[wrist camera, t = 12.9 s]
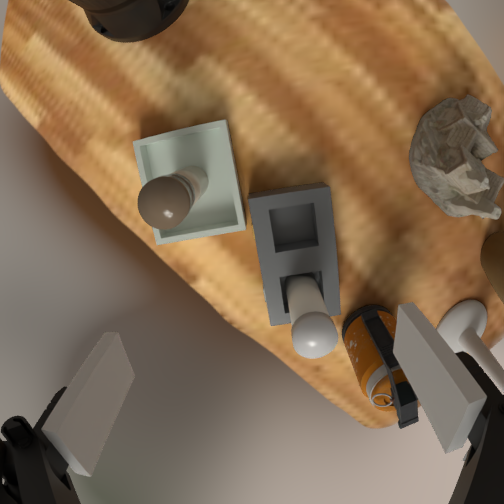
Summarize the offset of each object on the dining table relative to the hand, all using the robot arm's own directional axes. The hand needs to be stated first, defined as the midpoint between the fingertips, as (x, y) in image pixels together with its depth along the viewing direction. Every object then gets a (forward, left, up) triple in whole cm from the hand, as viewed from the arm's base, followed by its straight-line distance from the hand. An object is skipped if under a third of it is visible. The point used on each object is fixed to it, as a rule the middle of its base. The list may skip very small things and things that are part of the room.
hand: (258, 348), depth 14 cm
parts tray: (-5, -8, -31) cm, 32 cm away
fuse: (+12, +4, -30) cm, 32 cm away
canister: (+21, +14, -31) cm, 40 cm away
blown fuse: (-5, -8, -30) cm, 31 cm away
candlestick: (+28, +34, -31) cm, 54 cm away
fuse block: (+7, +4, -31) cm, 32 cm away
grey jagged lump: (-3, +30, -31) cm, 43 cm away
